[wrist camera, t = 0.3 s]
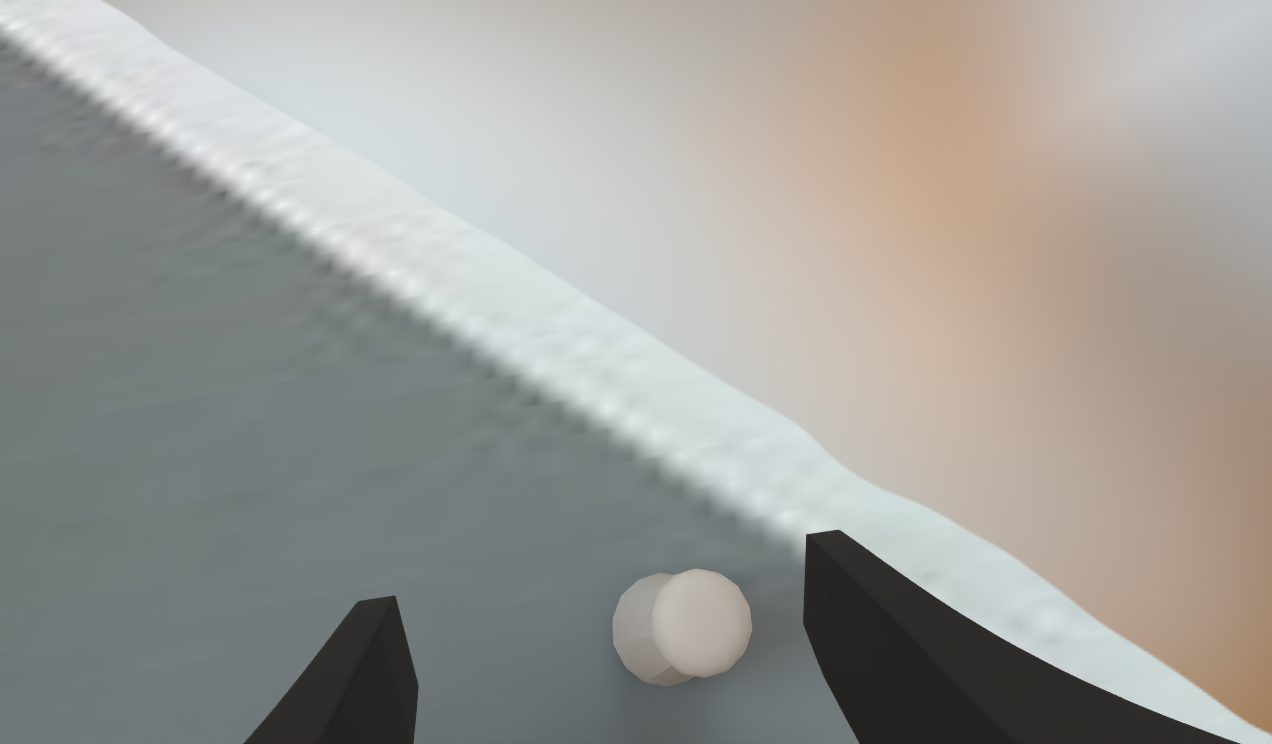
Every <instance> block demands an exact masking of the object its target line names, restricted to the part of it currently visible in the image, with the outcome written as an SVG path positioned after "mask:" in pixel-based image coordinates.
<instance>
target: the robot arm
mask: <svg viewBox="0 0 1272 744" xmlns="http://www.w3.org/2000/svg"><path fill="white" fill-rule="evenodd" d="M803 624H804V627H805V630H806V632H807V635H808V637H809V640H810V643H811V645H812V648H813V651H814V653H815V656H816V658H817V661H818V663H819V666H820V668H821V671H822V673H823V676H824V678H825V680H826V681H827V683H828V685H829V687H830V689H831V691H832V693H833V695H834V697H835V699H836V700H837V702H838V704H839V706H840V708H841V710H842V712H843V714H844V715H845V717H846V719H847V721H848V723H849V725H850V727H851V728H852V730H853V732H854V734H855V736H856V738H857V740H858V741H859V743H860V744H1240V743H1237V742H1234V741H1231V740H1228V739H1225V738H1222V737H1220V736H1217V735H1214V734H1212V733H1209V732H1206V731H1204V730H1201V729H1198V728H1196V727H1193V726H1190V725H1188V724H1185V723H1182V722H1180V721H1177V720H1174V719H1172V718H1169V717H1167V716H1164V715H1162V714H1159V713H1157V712H1154V711H1152V710H1149V709H1147V708H1144V707H1142V706H1139V705H1137V704H1135V703H1132V702H1130V701H1128V700H1125V699H1123V698H1121V697H1119V696H1117V695H1114V694H1112V693H1110V692H1108V691H1105V690H1103V689H1101V688H1099V687H1096V686H1094V685H1092V684H1090V683H1087V682H1085V681H1083V680H1081V679H1079V678H1077V677H1075V676H1073V675H1071V674H1069V673H1066V672H1064V671H1062V670H1060V669H1058V668H1056V667H1054V666H1052V665H1051V664H1049V663H1047V662H1045V661H1043V660H1041V659H1039V658H1037V657H1035V656H1033V655H1032V654H1030V653H1028V652H1026V651H1024V650H1022V649H1020V648H1018V647H1016V646H1014V645H1013V644H1011V643H1009V642H1007V641H1006V640H1004V639H1002V638H1000V637H999V636H997V635H995V634H993V633H992V632H990V631H988V630H987V629H985V628H983V627H982V626H980V625H979V624H977V623H975V622H974V621H972V620H970V619H969V618H967V617H965V616H964V615H962V614H960V613H959V612H957V611H956V610H954V609H953V608H951V607H950V606H948V605H946V604H945V603H943V602H942V601H940V600H939V599H937V598H936V597H934V596H933V595H931V594H930V593H928V592H927V591H925V590H924V589H922V588H921V587H919V586H918V585H917V584H915V583H914V582H912V581H911V580H909V579H908V578H906V577H905V576H904V575H902V574H901V573H899V572H898V571H897V570H895V569H894V568H892V567H891V566H890V565H888V564H887V563H885V562H884V561H883V560H881V559H880V558H878V557H877V556H876V555H874V554H873V553H871V552H870V551H869V550H867V549H866V548H864V547H863V546H862V545H860V544H859V543H858V542H856V541H855V540H853V539H852V538H850V537H849V536H848V535H846V534H845V533H843V532H842V531H840V530H833V531H826V532H819V533H813V534H806V559H805V587H804V615H803ZM418 687H419V686H418V682H417V678H416V674H415V670H414V666H413V662H412V659H411V655H410V651H409V647H408V643H407V639H406V635H405V631H404V627H403V623H402V620H401V616H400V612H399V608H398V604H397V600H396V596H389V597H383V598H376V599H369V600H363V601H358V602H357V603H356V604H355V606H354V607H353V608H352V609H351V611H350V612H349V613H348V614H347V616H346V617H345V618H344V620H343V621H342V622H341V624H340V625H339V626H338V627H337V629H336V630H335V631H334V633H333V634H332V635H331V637H330V638H329V639H328V641H327V642H326V643H325V645H324V646H323V647H322V649H321V650H320V651H319V652H318V654H317V655H316V656H315V658H314V659H313V660H312V662H311V663H310V664H309V665H308V667H307V668H306V669H305V671H304V672H303V673H302V674H301V676H300V677H299V678H298V679H297V681H296V682H295V683H294V684H293V685H292V687H291V688H290V689H289V690H288V692H287V693H286V694H285V695H284V697H283V698H282V699H281V700H280V702H279V703H278V704H277V705H276V707H275V708H274V709H273V710H272V711H271V713H270V714H269V715H268V716H267V717H266V719H265V720H264V721H263V722H262V723H261V724H260V725H259V727H258V728H257V729H256V730H255V731H254V732H253V733H252V735H251V736H250V737H249V738H248V739H247V740H246V741H245V743H244V744H413V742H414V732H415V722H416V711H417V699H418Z"/></svg>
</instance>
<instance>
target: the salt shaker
mask: <svg viewBox="0 0 1272 744" xmlns="http://www.w3.org/2000/svg"><path fill="white" fill-rule="evenodd" d="M751 633H752V623H751V615H750V607H749V605H748V603H747V601H746V600H745V598H744V596H743V594H742V593H741V591H740V589H739V587H738V586H737V585H735V584H734V583H733V582H731V581H730V580H728V579H727V578H725V577H724V576H723V575H721V574H720V573H717V572H711V571H706V570H701V569H696V568H695V569H692V570H689V571H686V572H683V573H680V574H676V575H671V574H666V573H657V574H654V575H651V576H648V577H645V578H642V579H639V580H638V581H637V582H636V583H634V584H633V585H632V586H631V587H630V588H629V589H628V590H627V591H626V592H624V593H623V594H622V595H621V597H620V600H619V603H618V605H617V608H616V611H615V614H614V616H613V645H614V647H615V649H616V651H617V652H618V654H619V656H620V658H621V660H622V662H623V664H624V665H625V667H626V668H627V669H628V670H630V671H631V672H632V673H633V674H635V675H636V676H637V677H638V678H640V679H641V680H642V681H643V682H645V683H649V684H656V685H662V686H668V687H670V686H673V685H676V684H679V683H682V682H685V681H688V680H691V679H693V678H694V677H695V676H698V677H704V678H707V677H710V676H713V675H716V674H719V673H722V672H725V671H728V670H729V669H730V668H731V667H732V666H733V665H734V664H735V663H736V661H737V660H738V659H739V658H740V657H741V656H742V655H743V654H744V653H745V651H746V648H747V645H748V642H749V639H750V636H751Z"/></svg>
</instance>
